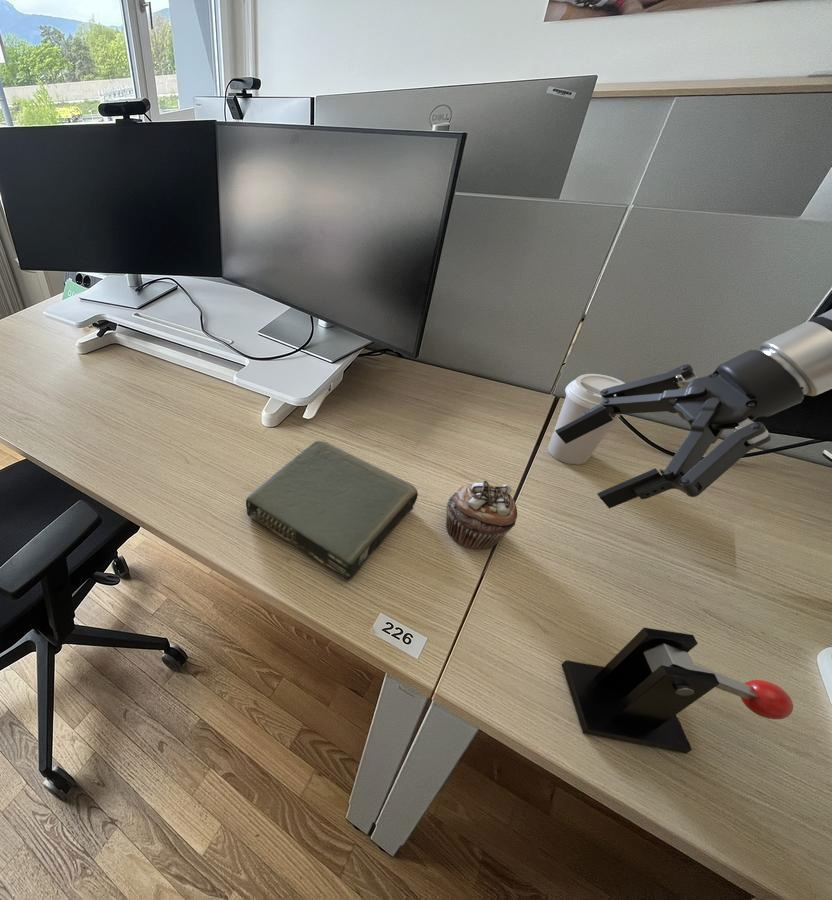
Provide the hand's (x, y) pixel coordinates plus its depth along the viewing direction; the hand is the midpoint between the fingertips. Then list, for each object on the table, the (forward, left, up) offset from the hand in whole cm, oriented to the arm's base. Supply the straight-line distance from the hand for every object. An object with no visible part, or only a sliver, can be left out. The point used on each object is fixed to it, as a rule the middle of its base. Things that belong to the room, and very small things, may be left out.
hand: (579, 466), depth 64 cm
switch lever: (-27, 0, -7) cm, 28 cm away
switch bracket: (-26, +4, -15) cm, 30 cm away
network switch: (+7, +32, -15) cm, 36 cm away
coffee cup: (+18, -15, -15) cm, 28 cm away
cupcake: (+1, +10, -15) cm, 18 cm away
